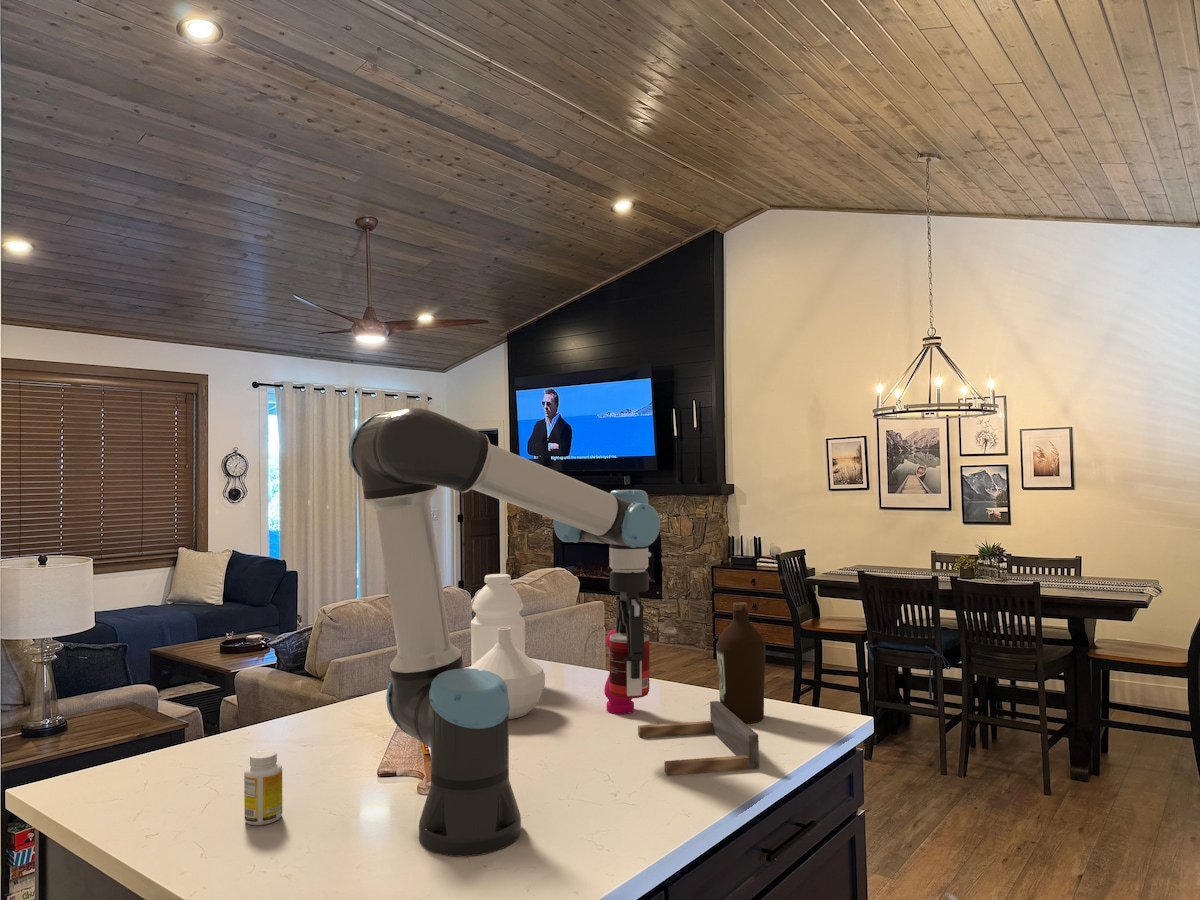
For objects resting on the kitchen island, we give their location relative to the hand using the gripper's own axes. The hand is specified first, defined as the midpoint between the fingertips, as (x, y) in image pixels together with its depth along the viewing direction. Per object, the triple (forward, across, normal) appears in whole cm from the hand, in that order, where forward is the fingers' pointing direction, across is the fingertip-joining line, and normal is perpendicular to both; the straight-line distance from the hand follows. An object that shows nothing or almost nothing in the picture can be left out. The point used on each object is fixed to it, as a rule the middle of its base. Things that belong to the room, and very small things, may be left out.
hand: (629, 689), depth 159 cm
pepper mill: (+13, +30, -4) cm, 33 cm away
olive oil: (+12, +19, -29) cm, 37 cm away
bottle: (+13, +59, +22) cm, 64 cm away
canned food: (+1, 0, 0) cm, 1 cm away
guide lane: (+12, 0, -12) cm, 17 cm away
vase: (+13, +33, +22) cm, 42 cm away
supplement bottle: (+14, -17, +63) cm, 66 cm away
